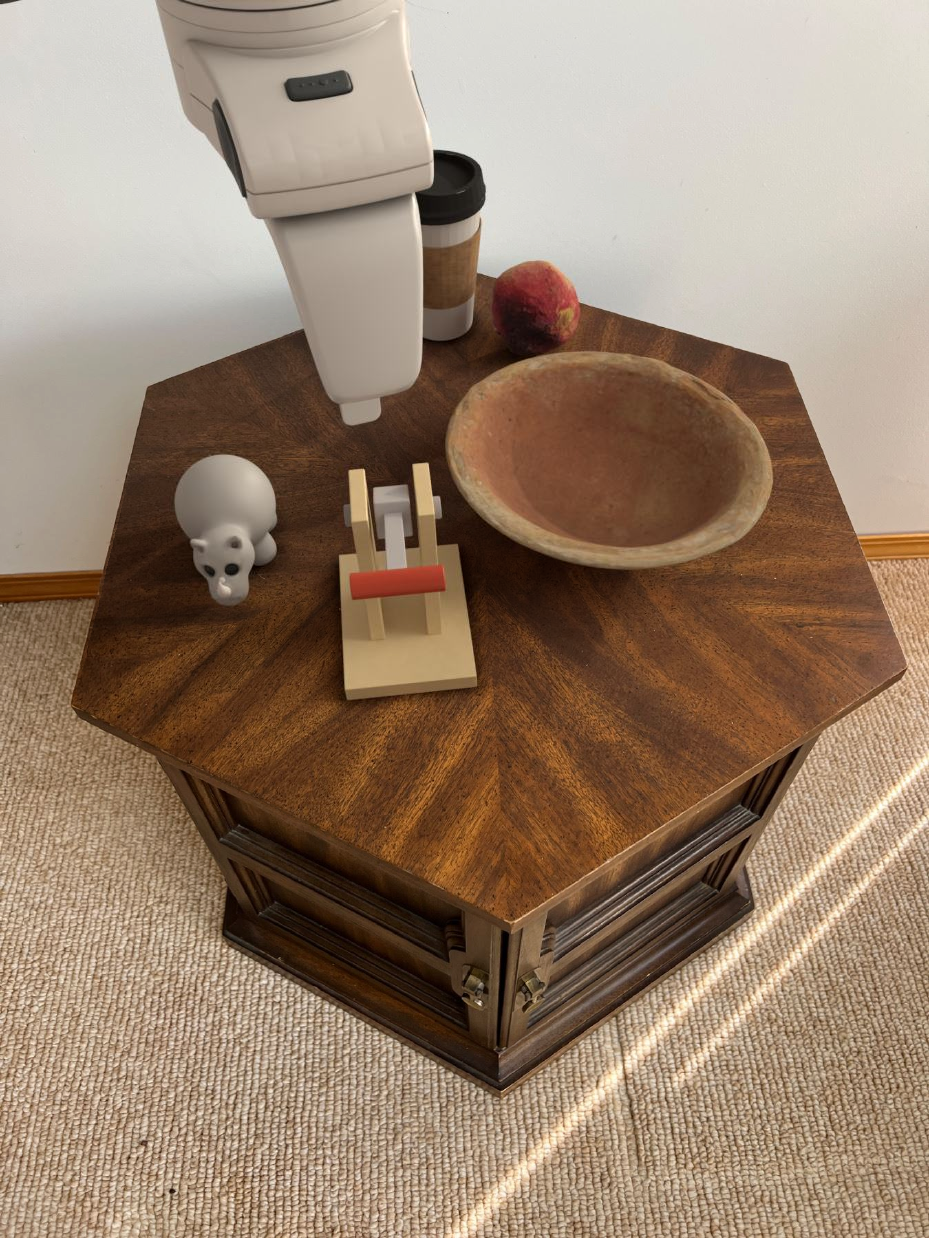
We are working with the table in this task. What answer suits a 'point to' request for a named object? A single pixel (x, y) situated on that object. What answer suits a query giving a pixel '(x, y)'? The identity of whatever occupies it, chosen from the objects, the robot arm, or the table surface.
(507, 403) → the bowl
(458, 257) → the coffee cup
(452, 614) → the wooden lever stand
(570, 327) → the fruit
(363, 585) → the lever
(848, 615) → the table surface
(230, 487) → the chubby cartoon animal
